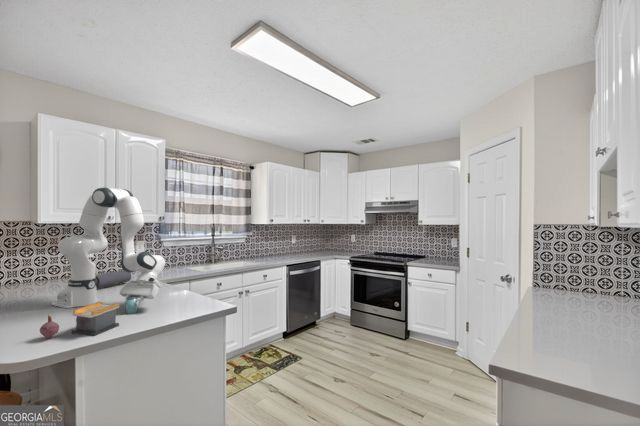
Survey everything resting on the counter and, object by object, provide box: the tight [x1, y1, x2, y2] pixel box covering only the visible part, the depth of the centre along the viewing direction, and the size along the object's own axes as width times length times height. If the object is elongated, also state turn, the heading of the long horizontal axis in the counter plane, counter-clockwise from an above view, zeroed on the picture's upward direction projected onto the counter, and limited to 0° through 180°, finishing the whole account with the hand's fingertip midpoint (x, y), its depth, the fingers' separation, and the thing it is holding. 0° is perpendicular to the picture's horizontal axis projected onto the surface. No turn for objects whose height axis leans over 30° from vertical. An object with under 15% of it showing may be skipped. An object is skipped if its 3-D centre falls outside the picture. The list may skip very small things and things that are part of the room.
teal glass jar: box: [125, 296, 139, 315], centre depth 157 cm, size 5×5×8 cm
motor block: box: [71, 300, 120, 337], centre depth 134 cm, size 14×14×10 cm
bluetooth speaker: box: [95, 270, 132, 289], centre depth 209 cm, size 23×9×10 cm, turn 160°
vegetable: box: [39, 314, 60, 339], centre depth 123 cm, size 6×6×10 cm
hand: (130, 304), depth 156 cm, fingers closed on teal glass jar, 5 cm apart
